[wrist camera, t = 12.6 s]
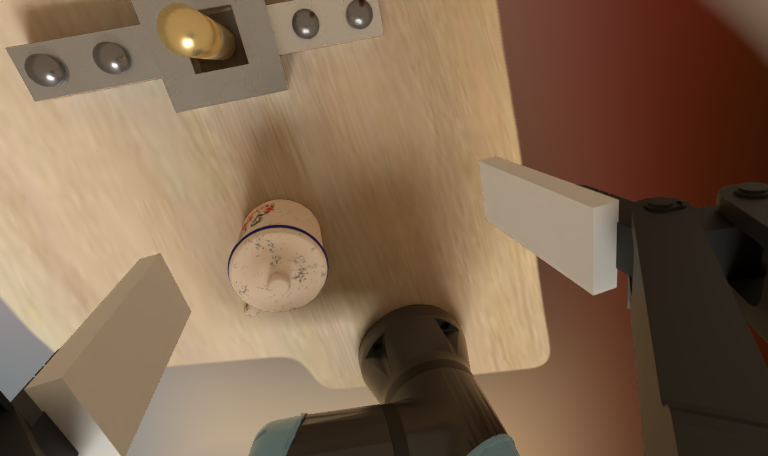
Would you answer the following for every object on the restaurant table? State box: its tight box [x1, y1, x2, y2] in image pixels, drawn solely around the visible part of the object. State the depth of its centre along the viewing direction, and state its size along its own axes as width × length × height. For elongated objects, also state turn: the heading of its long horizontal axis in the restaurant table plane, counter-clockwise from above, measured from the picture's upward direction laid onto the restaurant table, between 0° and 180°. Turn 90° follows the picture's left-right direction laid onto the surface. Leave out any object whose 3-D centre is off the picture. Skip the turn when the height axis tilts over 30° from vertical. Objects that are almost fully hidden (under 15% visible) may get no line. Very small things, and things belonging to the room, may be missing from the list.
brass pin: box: [156, 3, 236, 60], centre depth 29 cm, size 3×3×12 cm
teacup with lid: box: [228, 199, 329, 316], centre depth 38 cm, size 12×9×12 cm
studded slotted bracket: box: [6, 0, 384, 113], centre depth 33 cm, size 10×30×4 cm, turn 100°
